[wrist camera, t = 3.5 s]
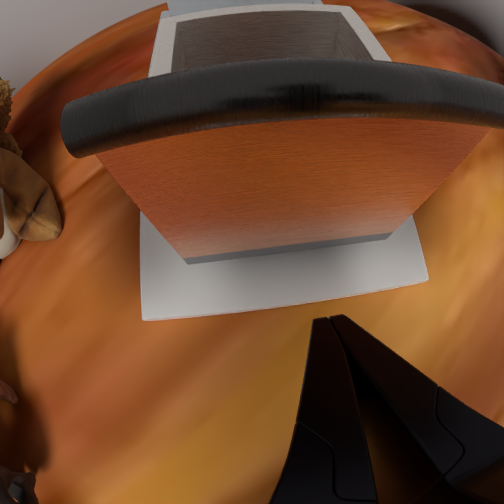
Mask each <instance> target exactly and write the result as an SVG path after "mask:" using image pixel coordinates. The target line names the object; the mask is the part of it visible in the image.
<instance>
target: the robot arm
mask: <svg viewBox="0 0 504 504" xmlns="http://www.w3.org/2000/svg"><path fill="white" fill-rule="evenodd" d="M268 504H504V427H502V426H500V425H499V424H497V423H495V422H493V421H492V420H490V419H488V418H486V417H485V416H483V415H481V414H480V413H478V412H477V411H475V410H473V409H472V408H470V407H469V406H467V405H465V404H464V403H463V402H461V401H460V400H458V399H457V398H456V397H454V396H453V395H451V394H450V393H449V392H447V391H446V390H445V389H443V388H442V387H441V386H438V385H437V384H436V383H435V382H434V381H432V380H431V379H430V378H428V377H427V376H426V375H425V374H423V373H422V372H421V371H419V370H418V369H417V368H415V367H414V366H413V365H411V364H410V363H409V362H407V361H406V360H405V359H403V358H402V357H401V356H399V355H398V354H397V353H395V352H394V351H393V350H391V349H390V348H389V347H387V346H386V345H385V344H383V343H382V342H381V341H379V340H378V339H377V338H375V337H374V336H373V335H371V334H370V333H369V332H367V331H366V330H364V329H363V328H362V327H360V326H359V325H358V324H356V323H355V322H354V321H352V320H351V319H350V318H348V317H347V316H346V315H343V314H340V315H335V316H330V317H329V318H327V317H323V318H317V319H313V321H312V327H311V334H310V341H309V348H308V354H307V360H306V366H305V372H304V378H303V384H302V390H301V395H300V401H299V406H298V411H297V416H296V424H295V426H294V430H293V435H292V440H291V444H290V447H289V451H288V455H287V458H286V461H285V464H284V467H283V469H282V472H281V475H280V477H279V480H278V482H277V484H276V487H275V489H274V491H273V494H272V496H271V498H270V500H269V502H268Z"/></svg>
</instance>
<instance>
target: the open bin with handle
mask: <svg viewBox="0 0 504 504" xmlns="http://www.w3.org/2000/svg"><path fill="white" fill-rule="evenodd" d="M60 126H61V134H62V138H63V141H64V144H65V146H66V148H67V150H68V151H69V153H70V154H71V155H72V156H74V157H75V158H83V157H86V156H90V155H93V154H95V155H96V156H97V157H98V159H99V160H100V161H101V162H102V164H103V165H104V166H105V168H106V169H107V170H108V171H109V173H110V174H111V175H112V176H113V177H114V179H115V180H116V181H117V182H118V184H119V185H120V186H121V187H122V189H123V190H124V191H125V192H126V193H127V195H128V196H129V197H130V198H131V199H132V201H133V202H134V203H135V204H136V205H137V207H138V208H139V209H140V210H141V211H142V213H143V214H144V215H145V216H146V217H147V218H148V220H149V221H150V222H151V223H152V224H153V225H154V227H155V228H156V229H157V230H158V231H159V232H160V234H161V235H162V236H163V237H164V238H165V239H166V240H167V242H168V243H169V244H170V245H171V246H172V247H173V248H174V250H175V251H176V252H177V253H178V254H179V255H180V256H181V257H182V259H183V260H184V261H185V262H186V263H187V264H188V265H191V264H199V263H207V262H215V261H223V260H231V259H239V258H247V257H255V256H263V255H270V254H278V253H286V252H294V251H302V250H310V249H318V248H325V247H333V246H341V245H349V244H356V243H364V242H372V241H379V240H386V239H387V238H388V237H389V236H390V235H391V234H392V233H393V232H394V231H395V230H396V229H398V228H399V227H400V226H401V225H402V224H403V223H404V222H405V221H406V220H407V219H408V218H409V217H410V216H411V215H412V214H413V213H414V212H415V211H416V210H417V209H418V208H419V207H420V206H421V205H422V204H423V203H424V202H425V201H426V200H427V199H428V198H429V197H430V195H431V194H432V193H433V192H434V191H435V190H436V189H437V188H438V187H439V186H440V185H441V184H442V183H443V182H444V181H445V180H446V179H447V178H448V176H449V175H450V174H451V173H452V172H453V171H454V170H455V169H456V168H457V167H458V166H459V164H460V163H461V162H462V161H463V160H464V159H465V158H466V157H467V155H468V154H469V153H470V152H471V151H472V150H473V149H474V147H475V146H476V145H477V144H478V143H479V142H480V141H481V139H482V138H483V137H484V136H485V135H486V133H487V132H488V131H489V130H490V129H491V128H495V129H504V86H503V85H501V84H498V83H494V82H491V81H488V80H484V79H480V78H477V77H473V76H469V75H465V74H461V73H456V72H452V71H447V70H442V69H437V68H432V67H426V66H420V65H413V64H406V63H399V62H392V61H391V59H390V58H389V56H388V55H387V53H386V52H385V51H384V49H383V48H382V46H381V45H380V44H379V42H378V41H377V39H376V38H375V37H374V35H373V34H372V33H371V31H370V30H369V29H368V28H367V26H366V25H365V24H364V22H363V21H362V20H361V19H360V17H359V16H358V15H357V14H356V13H355V11H354V10H353V9H352V8H351V7H349V6H337V5H322V4H264V5H248V6H237V7H227V8H219V9H212V10H205V11H199V12H193V13H187V14H182V15H177V16H172V17H168V18H163V19H161V21H160V25H159V29H158V34H157V38H156V43H155V48H154V53H153V58H152V63H151V69H150V74H149V78H145V79H141V80H137V81H133V82H129V83H126V84H122V85H119V86H115V87H112V88H109V89H106V90H102V91H99V92H96V93H93V94H90V95H87V96H85V97H82V98H79V99H76V100H74V101H71V102H69V103H67V104H66V105H65V107H64V108H63V111H62V114H61V121H60Z"/></svg>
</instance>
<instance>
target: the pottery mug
mask: <svg viewBox="0 0 504 504" xmlns="http://www.w3.org/2000/svg"><path fill="white" fill-rule="evenodd" d="M0 398H2V399H4V400H7V401H9V402H11V403H12V404H16V403H18V401H19V400H18V398H17V395H16V393H15V391H14V390H13V388H12V387H11V386H9V385H7V384H6V383H5V381H3V380H0ZM35 483H36V479H35V475H34V474H33V473H31V472H28V473H21V472H15V471H11V470H8V469H7V468H5V467H3V466H1V465H0V504H39V503H38V499H37V497H36V494H35V492H34V487H35ZM13 498H15V499H16V500H17V501H18V503H17V502H16V501H15V500H14V499H13Z"/></svg>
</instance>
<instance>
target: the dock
mask: <svg viewBox="0 0 504 504" xmlns="http://www.w3.org/2000/svg"><path fill="white" fill-rule="evenodd" d="M167 3H168V7H169V10H168V11H164V12H162V13H161V17H160V21H161V19H163V18H168V17H172V16H177V15H182V14H187V13H193V12H199V11H205V10H212V9H219V8H227V7H237V6H248V5H264V4H322V5H324V4H323V3H322V2H321V0H167ZM159 25H160V22H159ZM158 29H159V26H158ZM157 34H158V30H157ZM157 34H156V38H157ZM155 43H156V39H155ZM154 48H155V44H154ZM154 48H153V53H154ZM153 53H152V58H153ZM152 58H151V63H152ZM151 63H150V69H151ZM150 69H149V74H150ZM149 74H148V78H149ZM428 280H429V277H428V272H427V268H426V264H425V260H424V255H423V251H422V248H421V244H420V240H419V236H418V233H417V229H416V226H415V222H414V219H413V216H412V215H411V216H410V217H409V218H408V219H407V220H406V221H405V222H404V223H403V224H402V225H401V226H400V227H399V228H398V229H396V230H395V231H394V232H393V233H392V234H391V235H390V236H389V237H388V238H387V239H386V240H379V241H372V242H364V243H356V244H349V245H341V246H333V247H325V248H318V249H310V250H302V251H294V252H286V253H278V254H270V255H263V256H255V257H247V258H239V259H231V260H223V261H215V262H207V263H199V264H191V265H188V264H187V263H186V262H185V261H184V260H183V259H182V257H181V256H180V255H179V254H178V253H177V252H176V251H175V250H174V248H173V247H172V246H171V245H170V244H169V243H168V242H167V240H166V239H165V238H164V237H163V236H162V235H161V234H160V232H159V231H158V230H157V229H156V228H155V227H154V225H153V224H152V223H151V222H150V221H149V220H148V218H147V217H146V216H145V215H144V214H143V213H142V211H141V210H140V286H141V309H142V320H145V321H156V320H168V319H180V318H191V317H201V316H211V315H221V314H230V313H239V312H247V311H255V310H263V309H271V308H278V307H286V306H293V305H300V304H307V303H313V302H320V301H326V300H332V299H339V298H345V297H351V296H356V295H362V294H368V293H373V292H379V291H384V290H389V289H395V288H400V287H405V286H410V285H415V284H420V283H423V282H426V281H428Z"/></svg>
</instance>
